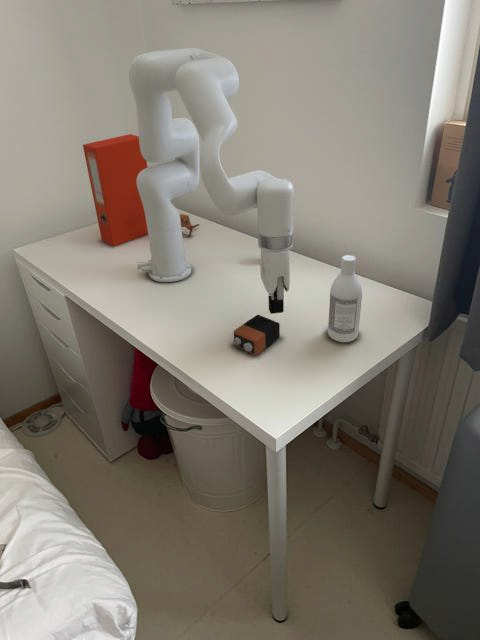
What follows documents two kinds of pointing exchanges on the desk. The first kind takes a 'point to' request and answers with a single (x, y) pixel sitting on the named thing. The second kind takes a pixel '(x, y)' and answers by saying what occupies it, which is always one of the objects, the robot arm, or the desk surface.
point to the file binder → (117, 187)
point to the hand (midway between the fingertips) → (276, 311)
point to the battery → (256, 334)
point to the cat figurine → (187, 223)
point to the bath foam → (345, 303)
